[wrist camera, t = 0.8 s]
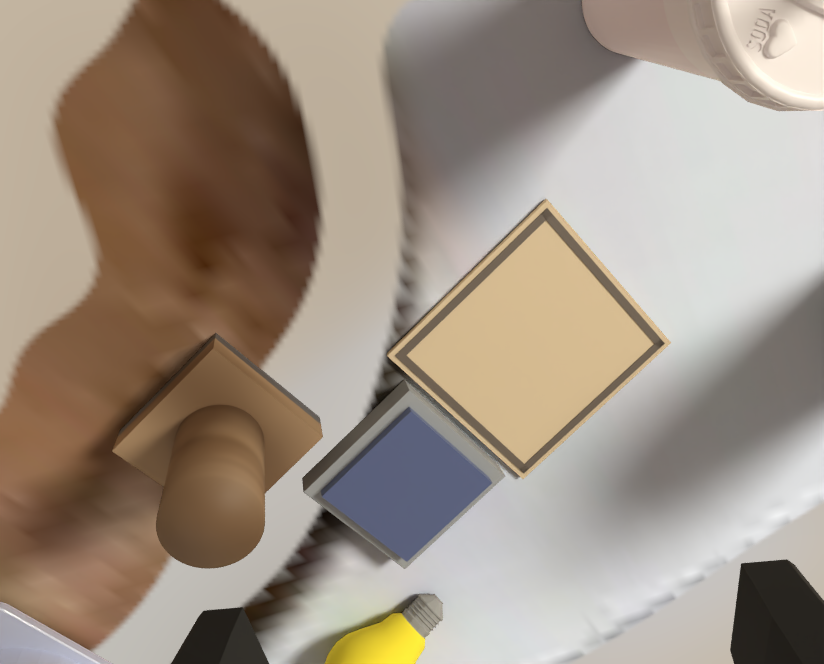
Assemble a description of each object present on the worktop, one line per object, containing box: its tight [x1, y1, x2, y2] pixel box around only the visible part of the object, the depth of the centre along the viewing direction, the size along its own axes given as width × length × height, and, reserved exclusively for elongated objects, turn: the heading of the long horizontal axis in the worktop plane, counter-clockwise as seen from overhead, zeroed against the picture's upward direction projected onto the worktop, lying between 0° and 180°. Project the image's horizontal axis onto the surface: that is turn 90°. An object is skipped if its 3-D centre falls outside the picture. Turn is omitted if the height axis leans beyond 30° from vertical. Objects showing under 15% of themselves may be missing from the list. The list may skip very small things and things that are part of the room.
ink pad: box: [302, 380, 505, 569], centre depth 28 cm, size 6×6×1 cm
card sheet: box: [387, 199, 671, 479], centre depth 28 cm, size 8×8×1 cm
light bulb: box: [325, 594, 443, 664], centre depth 30 cm, size 3×6×4 cm, turn 126°
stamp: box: [112, 333, 323, 568], centre depth 24 cm, size 5×5×6 cm
